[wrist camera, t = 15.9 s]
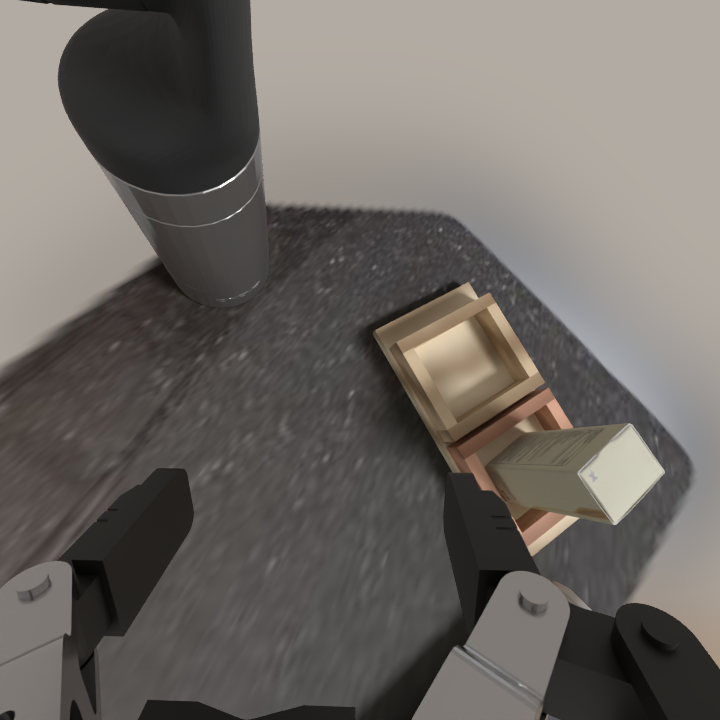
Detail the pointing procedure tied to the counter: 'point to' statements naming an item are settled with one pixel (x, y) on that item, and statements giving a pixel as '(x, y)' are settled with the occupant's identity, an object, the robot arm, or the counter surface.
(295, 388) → the counter surface
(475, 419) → the two-compartment wooden tray
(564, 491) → the skincare box
